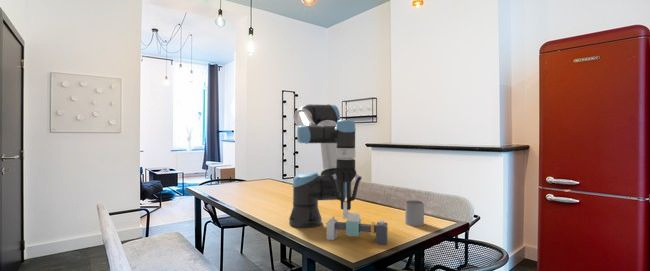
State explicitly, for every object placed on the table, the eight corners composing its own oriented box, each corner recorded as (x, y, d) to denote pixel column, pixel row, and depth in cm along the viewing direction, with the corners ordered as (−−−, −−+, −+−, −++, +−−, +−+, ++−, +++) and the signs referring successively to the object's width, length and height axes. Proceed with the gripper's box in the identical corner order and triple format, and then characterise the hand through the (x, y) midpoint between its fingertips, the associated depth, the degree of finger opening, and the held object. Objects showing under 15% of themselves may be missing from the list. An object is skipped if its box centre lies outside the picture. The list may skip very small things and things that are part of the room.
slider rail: (326, 239, 127) (326, 219, 127) (330, 234, 133) (330, 215, 133) (386, 245, 121) (386, 224, 121) (387, 240, 127) (387, 220, 127)
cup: (424, 226, 144) (424, 204, 144) (405, 225, 146) (405, 203, 146) (422, 221, 153) (422, 200, 152) (405, 220, 154) (405, 200, 154)
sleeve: (345, 234, 125) (346, 215, 125) (348, 230, 130) (348, 211, 130) (358, 236, 124) (358, 216, 124) (360, 232, 129) (360, 212, 129)
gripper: (327, 159, 126) (327, 218, 126) (360, 159, 122) (360, 221, 122) (332, 157, 133) (332, 214, 133) (363, 158, 129) (363, 216, 129)
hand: (345, 217), depth 128 cm, fingers closed
